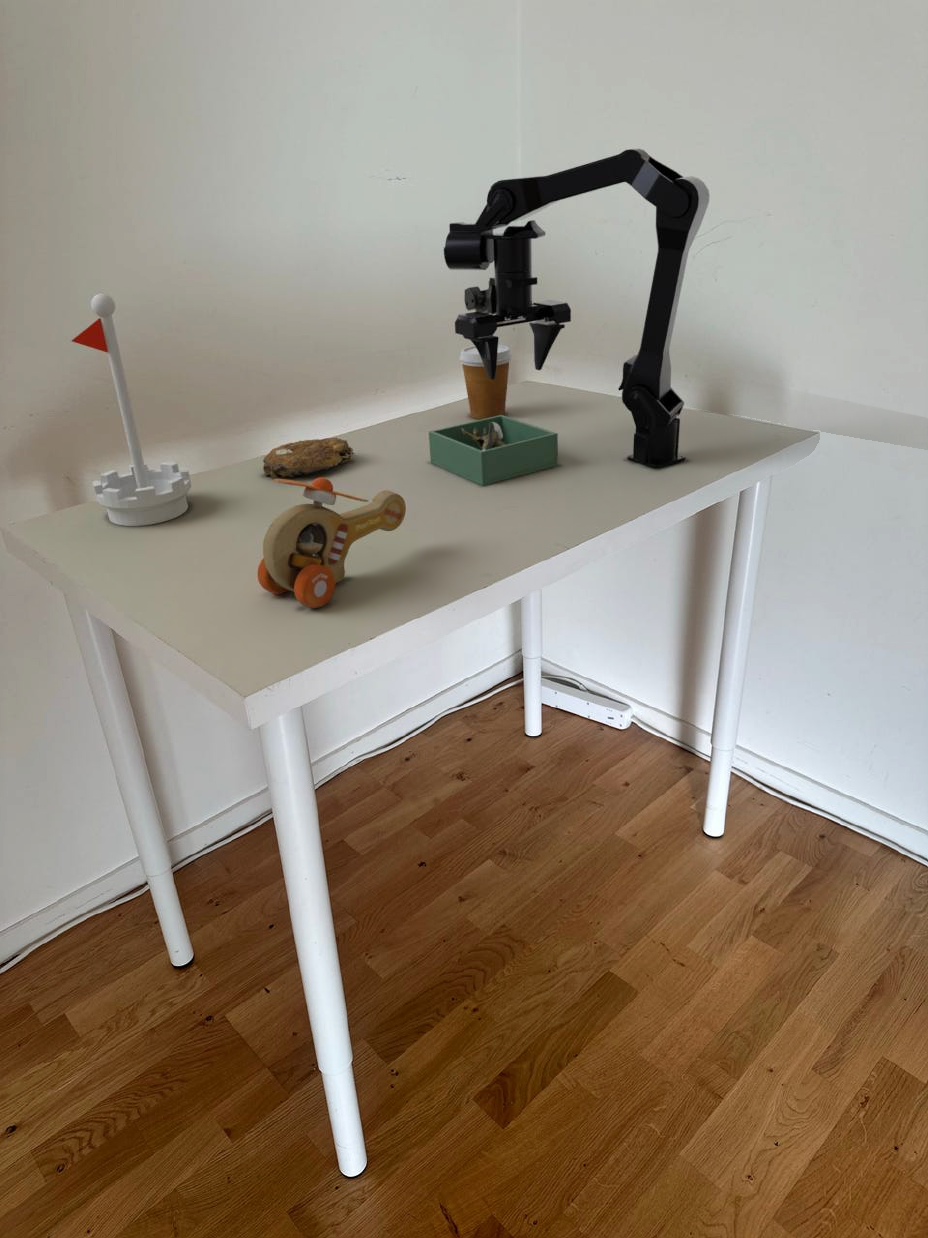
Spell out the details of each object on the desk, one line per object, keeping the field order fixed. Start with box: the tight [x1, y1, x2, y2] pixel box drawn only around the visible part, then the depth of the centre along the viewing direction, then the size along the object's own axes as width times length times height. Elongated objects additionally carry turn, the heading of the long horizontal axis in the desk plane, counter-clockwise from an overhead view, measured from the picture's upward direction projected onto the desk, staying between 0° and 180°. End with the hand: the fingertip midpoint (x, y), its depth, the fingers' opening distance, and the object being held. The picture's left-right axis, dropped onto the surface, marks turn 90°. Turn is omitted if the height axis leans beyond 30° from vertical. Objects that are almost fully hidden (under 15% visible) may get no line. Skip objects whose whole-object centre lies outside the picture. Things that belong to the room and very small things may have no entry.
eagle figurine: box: [462, 422, 508, 451], centre depth 142 cm, size 8×7×9 cm
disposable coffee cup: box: [458, 344, 513, 420], centre depth 167 cm, size 10×10×12 cm
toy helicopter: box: [257, 477, 407, 609], centre depth 105 cm, size 8×21×14 cm, turn 140°
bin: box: [428, 415, 559, 486], centre depth 142 cm, size 14×15×5 cm
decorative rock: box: [262, 437, 356, 479], centre depth 146 cm, size 11×4×15 cm
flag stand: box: [71, 293, 192, 527], centre depth 124 cm, size 13×13×30 cm
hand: (515, 374), depth 145 cm, fingers open, 9 cm apart
